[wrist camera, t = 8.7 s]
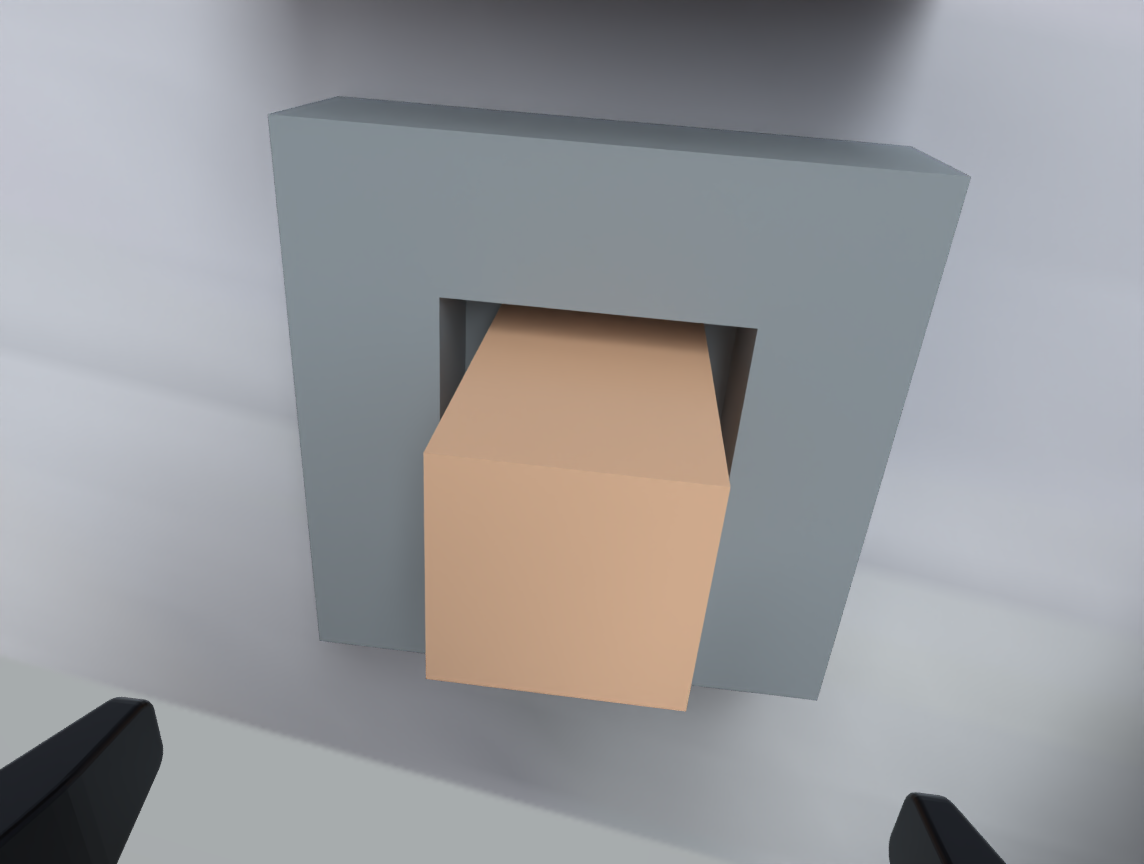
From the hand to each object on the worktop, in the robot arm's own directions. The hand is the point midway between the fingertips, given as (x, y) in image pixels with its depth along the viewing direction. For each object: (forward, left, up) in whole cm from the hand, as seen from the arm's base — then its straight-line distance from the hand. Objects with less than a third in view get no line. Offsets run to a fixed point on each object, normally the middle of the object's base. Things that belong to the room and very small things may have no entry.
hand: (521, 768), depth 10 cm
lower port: (0, 0, -11) cm, 11 cm away
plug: (0, 0, -10) cm, 10 cm away
